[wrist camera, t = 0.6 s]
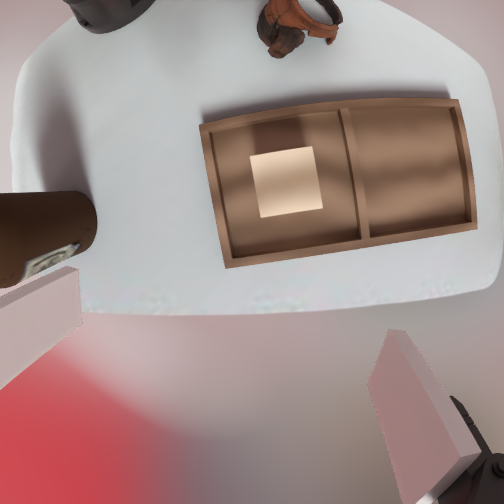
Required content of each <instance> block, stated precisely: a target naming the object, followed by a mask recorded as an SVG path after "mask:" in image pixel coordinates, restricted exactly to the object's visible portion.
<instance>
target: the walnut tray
mask: <svg viewBox="0 0 504 504" xmlns="http://www.w3.org/2000/svg"><path fill="white" fill-rule="evenodd" d="M199 130H200V136H201V141H202V147H203V153H204V159H205V164H206V170H207V176H208V181H209V187H210V192H211V197H212V203H213V208H214V213H215V219H216V224H217V229H218V234H219V239H220V244H221V249H222V254H223V259H224V264H225V269H227V268H234V267H241V266H248V265H255V264H262V263H268V262H275V261H282V260H289V259H295V258H302V257H309V256H315V255H322V254H328V253H335V252H341V251H348V250H354V249H360V248H367V247H373V246H379V245H385V244H392V243H398V242H404V241H410V240H416V239H422V238H428V237H434V236H440V235H446V234H452V233H458V232H464V231H469V230H475V229H477V209H476V196H475V185H474V177H473V169H472V162H471V156H470V150H469V144H468V139H467V134H466V129H465V124H464V120H463V116H462V112H461V108H460V104H459V100H458V99H444V98H370V99H353V100H340V101H330V102H320V103H312V104H304V105H296V106H289V107H283V108H276V109H270V110H265V111H259V112H254V113H249V114H244V115H239V116H234V117H230V118H225V119H221V120H216V121H212V122H208V123H204V124H200V125H199ZM310 146H312V148H313V153H314V158H315V164H316V169H317V175H318V181H319V187H320V193H321V199H322V206H323V208H321V209H314V210H308V211H301V212H295V213H288V214H282V215H276V216H269V217H263V218H261V216H260V211H259V205H258V200H257V194H256V188H255V183H254V177H253V172H252V166H251V161H250V156H254V155H260V154H265V153H271V152H277V151H283V150H289V149H296V148H303V147H310Z"/></svg>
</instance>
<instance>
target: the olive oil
mask: <svg viewBox="0 0 504 504" xmlns="http://www.w3.org/2000/svg"><path fill="white" fill-rule="evenodd" d="M96 230H97V218H96V213H95V210H94V207H93V205H92V203H91V201H90V200H89V199H88V198H87V197H86V196H85V195H84V194H82V193H80V192H77V191H58V192H27V193H0V288H8V287H11V286H14V285H16V284H18V283H20V282H22V281H23V280H25V279H27V278H29V277H31V276H33V275H35V274H37V273H39V272H41V271H43V270H45V269H47V268H49V267H51V266H53V265H55V264H57V263H59V262H61V261H64V260H66V259H68V258H70V257H72V256H75V255H77V254H79V253H82V252H84V251H85V250H87V249H88V248H89V247H90V246H91V244H92V243H93V241H94V238H95V235H96Z"/></svg>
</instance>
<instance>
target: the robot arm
mask: <svg viewBox="0 0 504 504" xmlns="http://www.w3.org/2000/svg"><path fill="white" fill-rule="evenodd" d="M63 1H65V2H66V3H67V4H69V6H70V7H71V9H72V11H73V13H74V15H75V17H76V19H77V20H78V22H79V24H80V25H81V26H82V27H84V28H85V29H87V30H88V31H90V32H92V33H96V34H103V33H108V32H112V31H115V30H117V29H119V28H121V27H123V26H125V25H127V24H129V23H130V22H132V21H133V20H135V19H136V18H138V17H139V16H140V15H141V14H143V13H144V12H145V11H146V10H147V9H148V8H149V7H150V6H151V5H152V3H153V2H154V1H155V0H63ZM82 324H83V321H82V311H81V300H80V286H79V269H76V268H73V267H69V266H65V267H63V268H61V269H59V270H56V271H54V272H52V273H50V274H47V275H45V276H43V277H41V278H39V279H37V280H34V281H32V282H30V283H28V284H26V285H24V286H22V287H20V288H18V289H16V290H14V291H12V292H9V293H8V294H5V295H3V296H1V297H0V390H1V389H2V388H3V387H4V386H5V385H7V384H8V383H9V382H10V381H11V380H13V379H14V378H15V377H16V376H17V375H18V374H20V373H21V372H22V371H23V370H24V369H26V368H27V367H28V366H30V365H31V364H32V363H33V362H35V361H36V360H37V359H38V358H39V357H40V356H42V355H43V354H45V353H46V352H47V351H48V350H50V349H51V348H52V347H53V346H55V345H56V344H57V343H59V342H60V341H61V340H62V339H64V338H65V337H66V336H68V335H69V334H70V333H71V332H73V331H74V330H75V329H77V328H78V327H79V326H81V325H82ZM367 386H368V389H369V392H370V395H371V398H372V401H373V404H374V407H375V410H376V413H377V416H378V419H379V423H380V426H381V429H382V432H383V436H384V439H385V442H386V446H387V449H388V453H389V456H390V459H391V463H392V467H393V470H394V474H395V478H396V482H397V485H398V489H399V493H400V497H401V501H402V504H432V503H433V502H434V501H435V500H436V499H438V502H439V504H504V454H501V453H495V454H492V452H491V451H490V449H489V447H488V445H487V444H486V442H485V440H484V439H483V437H482V435H481V434H480V432H479V430H478V428H477V427H476V426H475V425H474V422H473V420H472V419H471V417H469V414H468V412H467V411H466V409H465V408H464V406H463V405H462V404H461V403H460V402H459V401H458V400H457V399H456V398H454V397H453V396H449V395H448V394H447V392H446V390H445V389H444V388H443V386H442V384H441V383H440V381H439V380H438V378H437V377H436V375H435V374H434V372H433V371H432V369H431V368H430V366H429V365H428V363H427V362H426V360H425V359H424V357H423V356H422V354H421V353H420V352H419V350H418V349H417V347H416V346H415V344H414V343H413V342H412V340H411V339H410V337H409V336H408V335H407V333H406V332H405V331H401V330H391V329H389V330H388V333H387V335H386V338H385V341H384V343H383V346H382V349H381V351H380V354H379V356H378V359H377V361H376V364H375V366H374V369H373V371H372V373H371V376H370V378H369V380H368V383H367Z"/></svg>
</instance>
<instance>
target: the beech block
mask: <svg viewBox="0 0 504 504" xmlns="http://www.w3.org/2000/svg"><path fill="white" fill-rule="evenodd" d="M250 161H251V166H252V172H253V177H254V183H255V188H256V194H257V200H258V205H259V211H260V216H261V218H263V217H269V216H276V215H282V214H288V213H295V212H301V211H308V210H314V209H321V208H323V206H322V199H321V193H320V187H319V181H318V175H317V169H316V164H315V158H314V153H313V148H312V146H310V147H303V148H296V149H289V150H283V151H277V152H271V153H265V154H260V155H254V156H250Z"/></svg>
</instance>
